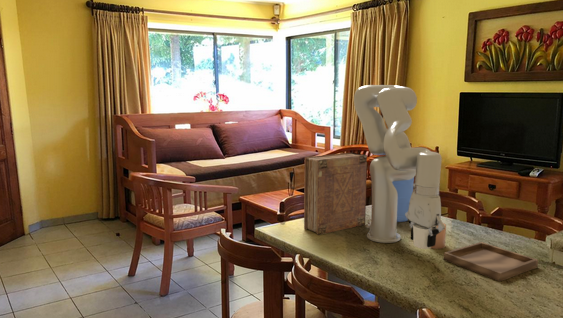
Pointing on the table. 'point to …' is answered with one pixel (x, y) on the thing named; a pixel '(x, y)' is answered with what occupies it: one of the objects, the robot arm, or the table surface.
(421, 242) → the white tapered cup
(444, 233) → the peach rounded capsule
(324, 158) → the book
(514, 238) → the table surface
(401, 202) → the water jug
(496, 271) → the walnut tray
